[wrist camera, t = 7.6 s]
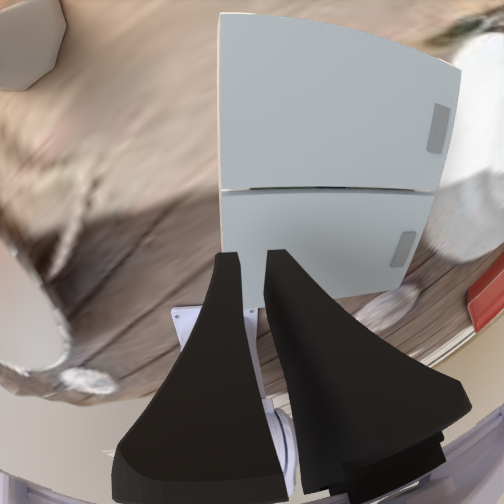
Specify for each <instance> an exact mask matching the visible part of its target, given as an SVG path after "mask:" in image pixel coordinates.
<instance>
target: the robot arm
mask: <svg viewBox="0 0 504 504" xmlns="http://www.w3.org/2000/svg"><path fill="white" fill-rule="evenodd" d="M263 296H264V302H265V308H266V314H267V319H268V323H269V326H270V330H271V333H272V336H273V340H274V343H275V346H276V350H277V353H278V356H279V359H280V363H281V366H282V369H283V372H284V376H285V380H286V384H287V389H288V394H289V400H290V405H291V410H292V416H293V421H292V419H291V418H290V417H289V415H287V414H286V413H285V412H284V411H283V410H282V409H280V408H276V409H274V406H273V401H272V399H266V396H265V391H264V386H263V381H262V375H261V370H260V365H259V359H258V354H257V349H256V333H257V317H258V308H253V309H243V296H242V277H241V264H240V260H239V256H238V253H237V252H222V253H218V254H216V255H215V264H214V270H213V274H212V278H211V282H210V285H209V288H208V291H207V294H206V297H205V300H204V303H203V305H202V306H187V307H174V308H172V310H171V314H172V318H173V321H174V325H175V328H176V331H177V335H178V338H179V341H180V344H181V353H180V355H179V357H178V359H177V360H176V362H175V364H174V366H173V367H172V369H171V371H170V373H169V374H168V376H167V378H166V379H165V381H164V382H163V384H162V385H161V387H160V388H159V390H158V391H157V393H156V394H155V396H154V397H153V399H152V400H151V402H150V403H149V405H148V406H147V408H146V409H145V410H144V412H143V413H142V414H141V416H140V417H139V418H138V419H137V421H136V422H135V423H134V425H133V426H132V427H131V428H130V429H129V431H128V432H127V433H126V434H125V436H124V437H123V438H122V439H121V441H120V442H119V443H118V445H117V448H116V452H115V456H114V460H113V466H112V474H111V478H112V499H113V500H114V501H115V502H117V503H121V504H281V503H282V502H286V501H289V496H290V495H291V494H293V492H294V491H295V487H294V486H295V485H296V467H297V465H298V461H299V464H300V472H301V482H302V488H303V492H304V495H306V494H311V493H315V492H319V491H323V490H327V489H329V493H330V497H326V498H323V499H319V500H315V501H311V502H307V503H303V504H370V503H372V502H374V501H377V500H380V499H382V498H384V497H386V496H389V495H390V496H389V497H387V498H385V499H383V500H382V501H380V502H378V503H377V504H496V503H497V502H498V500H499V499H500V497H501V496H502V494H503V493H504V404H503V405H501V406H500V407H498V408H497V409H495V410H494V411H493V412H491V413H490V414H489V415H487V416H486V417H485V418H483V419H482V420H481V421H479V422H478V423H477V424H476V426H475V427H473V428H472V429H470V430H469V431H467V432H466V433H464V434H463V435H461V436H460V437H458V438H457V439H455V440H454V441H452V442H451V443H449V444H448V445H446V446H444V447H443V448H442V447H441V445H440V442H442V441H444V436H443V433H442V430H444V429H445V428H447V427H448V426H450V425H452V424H453V423H454V422H456V421H457V420H459V419H460V418H462V417H463V416H464V415H466V414H467V413H468V412H469V411H471V408H472V405H471V403H470V401H469V398H468V396H467V394H466V392H465V390H464V388H463V386H462V384H461V382H460V381H458V380H456V379H454V378H451V377H449V376H447V375H445V374H442V373H440V372H438V371H436V370H434V369H431V368H429V367H428V366H426V365H424V364H422V363H420V362H418V361H417V360H415V359H413V358H411V357H409V356H408V355H406V354H404V353H403V352H401V351H399V350H398V349H396V348H395V347H393V346H392V345H390V344H389V343H387V342H386V341H384V340H383V339H381V338H380V337H378V336H377V335H376V334H374V333H373V332H372V331H370V330H369V329H368V328H366V327H365V326H364V325H363V324H361V323H360V322H359V321H357V320H356V319H355V318H354V317H353V316H351V315H350V314H349V313H348V312H347V311H345V310H344V309H343V308H342V307H341V306H340V305H339V304H338V303H337V302H336V301H335V300H333V299H332V298H331V297H330V296H329V295H328V294H327V293H326V292H325V291H324V290H323V289H322V288H321V287H320V286H319V285H318V284H317V283H316V282H315V281H314V279H313V278H312V277H311V276H310V275H309V274H308V273H307V272H306V271H305V270H304V269H303V268H302V267H301V265H300V264H299V263H298V262H297V261H296V260H295V259H294V258H293V257H292V256H291V254H290V253H289V252H288V251H287V250H286V249H276V250H267V259H266V269H265V280H264V290H263ZM177 315H179V316H177ZM293 422H294V424H293ZM417 481H419V483H418V485H416V486H413V487H410V488H407V489H405V490H401V489H403V488H405V487H407V486H409V485H411V484H413V483H415V482H417ZM399 490H401V491H399ZM397 491H399V492H397ZM395 492H396V493H395ZM393 493H394V494H393ZM391 494H392V495H391ZM0 504H95V503H90V502H87V501H83V500H79V499H76V498H72V497H69V496H66V495H62V494H59V493H56V492H53V491H52V490H51V489H48V488H46V487H43V486H40V485H38V484H35V483H33V482H30V481H28V480H25V479H23V478H20V477H16V476H14V475H11V474H9V473H7V472H5V471H3V470H1V469H0Z"/></svg>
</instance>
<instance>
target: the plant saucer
mask: <svg viewBox="0 0 504 504" xmlns="http://www.w3.org/2000/svg"><path fill="white" fill-rule="evenodd" d="M467 308H468V311H469V314H470V317H471V320H472V324H473V327H474V331H475V333H477V332H479V331H480V330H481V329H482V328H483V327H484V326H485V325H486V324H488V323H489V322H490V321H491V320H492V319H493V318H494V317H495V316H496V315H497V314H498V313H499V312H500V311H501V310H502V309H503V308H504V252H503V254H502V255H501V256H500V257H499V258H498V259H497V260H496V261H495V262H494V263H493V264H492V265H491V267H490V268H489V269H488V270H487V271H486V272H485V273H484V274H483V275H482V276H481V277H480V278H479V279H478V280H477V281H476V282H475V283H474V284H473V285H472V286H471V287H470V288H469V289H468V292H467Z"/></svg>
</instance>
